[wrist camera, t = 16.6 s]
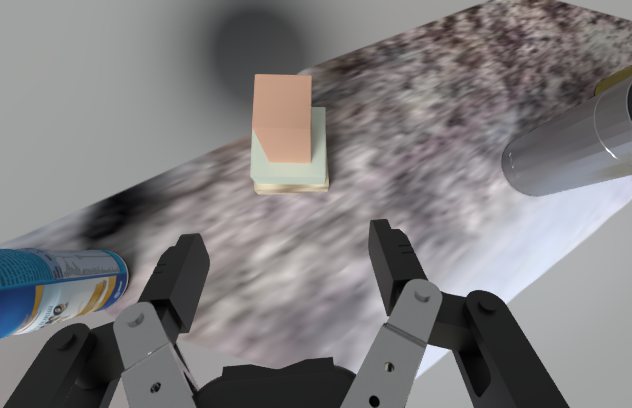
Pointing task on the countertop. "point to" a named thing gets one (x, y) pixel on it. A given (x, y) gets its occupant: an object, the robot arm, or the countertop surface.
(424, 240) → the countertop surface
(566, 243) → the countertop surface
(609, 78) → the vase
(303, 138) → the square block
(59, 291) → the beverage bottle
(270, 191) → the tower base
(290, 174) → the tower top
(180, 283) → the robot arm
